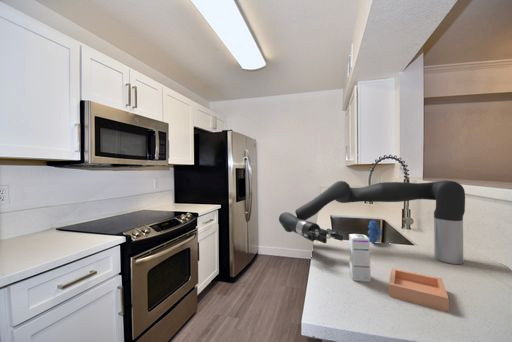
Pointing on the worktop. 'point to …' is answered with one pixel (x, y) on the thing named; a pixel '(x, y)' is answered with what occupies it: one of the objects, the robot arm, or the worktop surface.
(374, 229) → the grapes
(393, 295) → the dish
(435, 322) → the worktop surface
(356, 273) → the syrup box
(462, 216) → the robot arm
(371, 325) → the worktop surface
